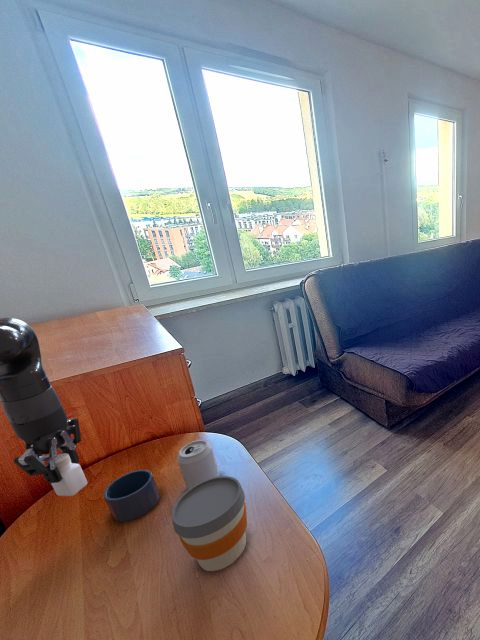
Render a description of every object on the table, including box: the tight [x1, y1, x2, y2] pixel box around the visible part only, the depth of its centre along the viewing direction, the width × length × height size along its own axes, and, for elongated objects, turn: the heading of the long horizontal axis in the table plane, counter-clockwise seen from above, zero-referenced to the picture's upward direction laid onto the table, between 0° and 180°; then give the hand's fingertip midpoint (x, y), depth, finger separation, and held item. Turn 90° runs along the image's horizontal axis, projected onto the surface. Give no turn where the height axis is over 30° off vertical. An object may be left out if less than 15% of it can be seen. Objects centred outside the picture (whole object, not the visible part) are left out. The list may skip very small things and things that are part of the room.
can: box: [176, 439, 220, 490], centre depth 87 cm, size 8×8×12 cm
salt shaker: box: [50, 453, 88, 497], centre depth 76 cm, size 4×4×10 cm
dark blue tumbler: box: [103, 469, 161, 523], centre depth 82 cm, size 9×9×7 cm
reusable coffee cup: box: [171, 475, 248, 572], centre depth 70 cm, size 13×12×15 cm
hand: (64, 472), depth 76 cm, fingers closed on salt shaker, 4 cm apart
